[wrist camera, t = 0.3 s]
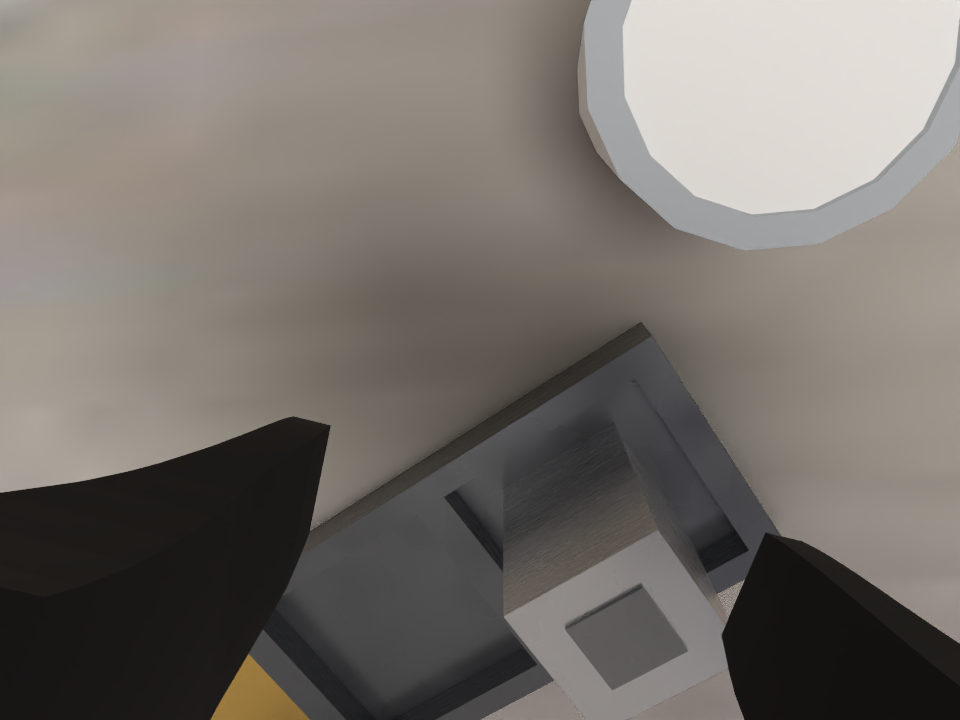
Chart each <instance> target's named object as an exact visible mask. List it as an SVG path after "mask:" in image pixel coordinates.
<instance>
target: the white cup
mask: <svg viewBox="0 0 960 720" xmlns="http://www.w3.org/2000/svg"><path fill="white" fill-rule="evenodd" d="M577 77H578V98H579V115H580V117H581V119H582V121H583V124H584V126H585V128H586V130H587V132H588V135H589V137H590V139H591V141H592V143H593V145H594V148H595V150H596V152H597V153H598V155H599V156H600V157H601V158H602V159H603V160H604V161H605V163H606V164H607V165H608V166H609V167H610V168H611V169H612V171H613V172H614V173H615V174H616V175H617V176H618V178H619V179H620V180H621V181H622V182H624V183H625V184H626V185H627V186H628V187H629V188H630V189H631V190H632V191H634V192H635V193H636V194H637V195H638V196H639V197H640V198H641V199H642V200H644V201H645V202H646V203H647V204H648V205H649V206H650V207H651V208H653V209H654V210H655V211H656V212H657V213H658V214H659V215H660V216H661V217H663V218H664V219H665V220H666V221H667V222H668V223H669V224H670V225H671V226H673V227H674V228H675V229H678V230H681V231H684V232H687V233H691V234H694V235H697V236H700V237H703V238H706V239H709V240H712V241H715V242H719V243H722V244H725V245H728V246H731V247H734V248H737V249H740V250H743V251H745V250H757V249H768V248H779V247H791V246H802V245H814V244H820V243H822V242H825V241H827V240H829V239H831V238H833V237H835V236H837V235H839V234H841V233H843V232H845V231H847V230H849V229H851V228H854V227H856V226H858V225H860V224H862V223H864V222H866V221H868V220H870V219H872V218H874V217H876V216H878V215H880V214H882V213H885V212H887V211H889V210H891V209H893V208H894V207H895V206H896V205H897V204H898V203H899V202H900V201H901V200H902V199H903V198H904V197H905V196H906V195H907V194H908V193H909V192H910V191H911V190H912V189H913V188H914V187H915V186H916V185H917V184H918V183H919V182H920V181H921V180H922V179H923V178H924V177H925V176H926V175H927V174H928V173H929V172H930V171H931V170H932V169H933V168H934V167H935V166H936V165H937V164H938V163H939V162H940V161H941V160H942V159H943V158H944V157H945V156H946V155H947V154H948V153H949V152H950V151H951V150H952V149H953V148H954V146H955V144H956V142H957V140H958V138H959V136H960V0H591V2H590V6H589V9H588V12H587V15H586V18H585V21H584V26H583V33H582V40H581V47H580V54H579V61H578V68H577Z"/></svg>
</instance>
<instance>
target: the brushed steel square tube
mask: <svg viewBox="0 0 960 720" xmlns="http://www.w3.org/2000/svg"><path fill="white" fill-rule="evenodd" d="M503 604H504V618H505V619H506V620H507V622H508V623H509V624H510V625H511V627H512V628H513V629H514V630H515V632H516V633H517V634H518V635H519V637H520V638H521V639H522V640H523V642H524V643H525V644H526V645H527V647H528V648H529V649H530V650H531V652H532V653H533V654H534V655H535V657H536V658H537V659H538V660H539V662H540V663H541V664H542V665H543V667H544V668H545V669H546V670H547V672H548V673H549V674H550V675H551V677H552V678H553V679H554V680H555V682H556V683H557V684H558V685H559V687H560V688H561V689H562V690H563V692H564V693H565V694H566V695H567V697H568V698H569V699H570V700H571V702H572V703H573V704H574V705H575V707H576V708H577V709H578V710H579V712H580V713H581V714H582V715H583V717H584V718H585V719H586V720H627V719H629V718H631V717H633V716H635V715H637V714H639V713H641V712H643V711H645V710H647V709H649V708H651V707H653V706H655V705H657V704H659V703H661V702H663V701H665V700H667V699H669V698H671V697H673V696H675V695H677V694H679V693H681V692H683V691H685V690H687V689H689V688H690V687H692V686H694V685H696V684H698V683H700V682H702V681H704V680H706V679H708V678H710V677H712V676H714V675H716V674H718V673H720V672H722V671H724V670H726V669H728V664H727V659H726V655H725V650H724V645H723V641H722V636H721V635H722V633H723V630H724V628H725V625H726V623H727V621H728V616H727V614H726V612H725V610H724V608H723V606H722V604H721V602H720V600H719V598H718V595H717V593H716V591H715V589H714V587H713V585H712V583H711V581H710V579H709V577H708V575H707V573H706V570H705V568H704V566H703V564H702V562H701V560H700V558H699V556H698V554H697V552H696V550H695V548H694V545H693V543H692V541H691V539H690V537H689V535H688V533H687V531H686V529H685V527H684V525H683V523H682V521H681V519H680V518H679V516H678V515H677V513H676V512H675V510H674V509H673V507H672V506H671V505H670V503H669V502H668V500H667V499H666V497H665V496H664V494H663V493H662V491H661V490H660V488H659V487H658V486H657V484H656V483H655V481H654V480H653V478H652V477H651V475H650V474H649V472H648V471H647V469H646V468H645V467H644V465H643V464H642V462H641V461H640V459H639V458H638V456H637V455H636V453H635V452H634V451H633V449H632V448H631V446H630V445H629V443H628V442H627V440H626V439H625V437H624V436H623V434H622V433H621V432H620V430H619V429H618V427H617V426H616V424H615V423H612V424H610V425H609V426H607V427H605V428H604V429H602V430H600V431H599V432H597V433H595V434H594V435H592V436H590V437H589V438H587V439H585V440H584V441H582V442H581V443H579V444H577V445H576V446H574V447H572V448H571V449H569V450H567V451H566V452H564V453H562V454H561V455H559V456H557V457H556V458H554V459H552V460H551V461H549V462H547V463H546V464H544V465H543V466H541V467H539V468H538V469H536V470H534V471H533V472H531V473H529V474H528V475H526V476H524V477H523V478H521V479H519V480H518V481H516V482H514V483H513V484H511V485H510V486H508V487H506V488H505V489H503Z"/></svg>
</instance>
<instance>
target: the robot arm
mask: <svg viewBox="0 0 960 720" xmlns="http://www.w3.org/2000/svg"><path fill="white" fill-rule="evenodd" d="M329 431H330V425H326V424H322V423H318V422H314V421H310V420H306V419H302V418H298V417H289V418H285V419H282V420H279V421H277V422H274V423H271V424H269V425H266V426H264V427H261V428H259V429H256V430H254V431H251V432H248V433H246V434H243V435H241V436H238V437H235V438H233V439H230V440H227V441H225V442H222V443H220V444H217V445H214V446H211V447H208V448H205V449H202V450H199V451H196V452H193V453H190V454H187V455H183V456H180V457H177V458H174V459H171V460H168V461H165V462H162V463H159V464H155V465H151V466H148V467H144V468H140V469H136V470H132V471H128V472H124V473H119V474H114V475H110V476H105V477H100V478H96V479H91V480H86V481H80V482H75V483H68V484H60V485H53V486H46V487H39V488H32V489H25V490H18V491H11V492H3V493H0V720H211V718H212V716H213V714H214V712H215V710H216V708H217V707H218V705H219V703H220V701H221V700H222V698H223V696H224V695H225V693H226V691H227V690H228V688H229V686H230V684H231V683H232V681H233V679H234V678H235V676H236V674H237V673H238V671H239V669H240V667H241V666H242V664H243V662H244V661H245V659H246V657H247V656H248V654H249V652H250V650H251V649H252V647H253V645H254V644H255V642H256V640H257V639H258V637H259V635H260V633H261V632H262V630H263V628H264V627H265V625H266V623H267V621H268V620H269V618H270V616H271V615H272V613H273V611H274V609H275V608H276V606H277V604H278V602H279V601H280V599H281V597H282V595H283V594H284V592H285V590H286V588H287V586H288V584H289V582H290V579H291V577H292V575H293V572H294V570H295V568H296V565H297V563H298V560H299V558H300V556H301V553H302V551H303V548H304V546H305V543H306V541H307V539H308V536H309V531H310V526H311V521H312V516H313V511H314V506H315V501H316V496H317V491H318V486H319V481H320V476H321V471H322V466H323V461H324V456H325V451H326V446H327V441H328V436H329ZM721 636H722V641H723V645H724V650H725V655H726V659H727V664H728V669H729V673H730V676H731V680H732V684H733V688H734V692H735V695H736V698H737V701H738V703H739V706H740V709H741V712H742V714H743V717H744V719H745V720H960V644H959V643H958V642H956V641H955V640H953V639H952V638H950V637H949V636H947V635H946V634H944V633H943V632H941V631H940V630H938V629H937V628H935V627H934V626H932V625H931V624H929V623H928V622H926V621H925V620H923V619H922V618H920V617H919V616H917V615H916V614H915V613H913V612H912V611H910V610H909V609H907V608H906V607H904V606H903V605H901V604H900V603H899V602H897V601H896V600H894V599H893V598H891V597H890V596H888V595H887V594H885V593H884V592H883V591H881V590H880V589H878V588H877V587H875V586H874V585H872V584H871V583H869V582H868V581H866V580H865V579H863V578H862V577H861V576H859V575H858V574H856V573H855V572H853V571H852V570H850V569H849V568H847V567H846V566H844V565H842V564H841V563H839V562H838V561H836V560H835V559H833V558H831V557H830V556H828V555H826V554H825V553H823V552H821V551H820V550H818V549H816V548H814V547H812V546H810V545H808V544H806V543H804V542H802V541H798V540H794V539H790V538H786V537H782V536H778V535H774V534H770V533H766V532H765V534H764V537H763V539H762V541H761V544H760V546H759V548H758V551H757V553H756V555H755V558H754V560H753V562H752V565H751V567H750V569H749V572H748V574H747V576H746V579H745V581H744V583H743V586H742V588H741V590H740V593H739V595H738V597H737V600H736V602H735V604H734V607H733V609H732V611H731V614H730V616H729V618H728V621H727V623H726V625H725V628H724V630H723V633H722V635H721Z"/></svg>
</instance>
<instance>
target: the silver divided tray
mask: <svg viewBox="0 0 960 720" xmlns="http://www.w3.org/2000/svg"><path fill="white" fill-rule="evenodd" d="M612 423H615V424H616V426H617V427H618V429H619V430H620V432H621V433H622V434H623V436H624V437H625V439H626V440H627V442H628V443H629V445H630V446H631V448H632V449H633V451H634V452H635V453H636V455H637V456H638V458H639V459H640V461H641V462H642V464H643V465H644V467H645V468H646V469H647V471H648V472H649V474H650V475H651V477H652V478H653V480H654V481H655V483H656V484H657V486H658V487H659V488H660V490H661V491H662V493H663V494H664V496H665V497H666V499H667V500H668V502H669V503H670V505H671V506H672V507H673V509H674V510H675V512H676V513H677V515H678V516H679V518H680V519H681V521H682V523H683V525H684V527H685V529H686V531H687V533H688V535H689V537H690V539H691V541H692V543H693V545H694V548H695V550H696V552H697V554H698V556H699V558H700V560H701V562H702V564H703V566H704V568H705V570H706V573H707V575H708V577H709V579H710V581H711V583H712V585H713V587H714V589H715V591H716V593H717V594H718V593H719V592H721V591H723V590H725V589H727V588H729V587H731V586H733V585H735V584H736V583H738V582H740V581H742V580H744V579H746V576H747V574H748V572H749V569H750V567H751V565H752V562H753V560H754V558H755V555H756V553H757V551H758V548H759V546H760V544H761V541H762V539H763V537H764V534H765V532H766V533H770V534H774V535H778V536H781V535H780V534H779V532H778V531H777V529H776V527H775V526H774V524H773V523H772V521H771V520H770V518H769V517H768V515H767V513H766V512H765V510H764V509H763V507H762V506H761V504H760V503H759V501H758V499H757V498H756V496H755V495H754V493H753V492H752V490H751V489H750V487H749V485H748V484H747V482H746V481H745V479H744V478H743V476H742V475H741V473H740V472H739V470H738V468H737V467H736V465H735V464H734V462H733V461H732V459H731V458H730V456H729V454H728V453H727V451H726V450H725V448H724V447H723V445H722V444H721V442H720V440H719V439H718V437H717V436H716V434H715V433H714V431H713V430H712V428H711V427H710V425H709V423H708V422H707V420H706V419H705V417H704V416H703V414H702V413H701V411H700V409H699V408H698V406H697V405H696V403H695V402H694V400H693V399H692V397H691V395H690V394H689V392H688V391H687V389H686V388H685V386H684V385H683V383H682V381H681V380H680V378H679V377H678V375H677V374H676V372H675V371H674V369H673V368H672V366H671V364H670V363H669V361H668V360H667V358H666V357H665V355H664V354H663V352H662V350H661V349H660V347H659V346H658V344H657V343H656V341H655V340H654V338H653V336H652V335H651V334H650V333H649V331H648V330H647V329H646V328H645V326H644V325H643V324H642V322H641V323H639V324H638V325H636V326H635V327H633V328H632V329H630V330H628V331H627V332H625V333H624V334H622V335H620V336H619V337H617V338H616V339H614V340H613V341H611V342H609V343H608V344H606V345H605V346H603V347H602V348H600V349H598V350H597V351H595V352H594V353H592V354H590V355H589V356H587V357H586V358H584V359H583V360H581V361H579V362H578V363H576V364H575V365H573V366H571V367H570V368H568V369H567V370H565V371H564V372H562V373H560V374H559V375H557V376H556V377H554V378H553V379H551V380H549V381H548V382H546V383H545V384H543V385H541V386H540V387H538V388H537V389H535V390H534V391H532V392H530V393H529V394H527V395H526V396H524V397H523V398H521V399H519V400H518V401H516V402H515V403H513V404H511V405H510V406H508V407H507V408H505V409H504V410H502V411H500V412H499V413H497V414H496V415H494V416H492V417H491V418H489V419H488V420H486V421H485V422H483V423H481V424H480V425H478V426H477V427H475V428H474V429H472V430H470V431H469V432H467V433H466V434H464V435H462V436H461V437H459V438H458V439H456V440H455V441H453V442H451V443H450V444H448V445H447V446H445V447H444V448H442V449H440V450H439V451H437V452H436V453H434V454H432V455H431V456H429V457H428V458H426V459H425V460H423V461H421V462H420V463H418V464H417V465H415V466H413V467H412V468H410V469H409V470H407V471H406V472H404V473H402V474H401V475H399V476H398V477H396V478H395V479H393V480H391V481H390V482H388V483H387V484H385V485H383V486H382V487H380V488H379V489H377V490H376V491H374V492H372V493H371V494H369V495H368V496H366V497H364V498H363V499H361V500H360V501H358V502H357V503H355V504H353V505H352V506H350V507H349V508H347V509H346V510H344V511H342V512H341V513H339V514H338V515H336V516H334V517H333V518H331V519H330V520H328V521H327V522H325V523H323V524H322V525H320V526H319V527H317V528H316V529H314V530H312V531H311V532H309V536H308V539H307V541H306V543H305V546H304V548H303V551H302V553H301V556H300V558H299V560H298V563H297V565H296V568H295V570H294V572H293V575H292V577H291V579H290V582H289V584H288V586H287V588H286V590H285V592H284V594H283V595H282V597H281V599H280V601H279V602H278V604H277V606H276V608H275V609H274V611H273V613H272V615H271V616H270V618H269V620H268V621H267V623H266V625H265V627H264V628H263V630H262V632H261V633H260V635H259V637H258V639H257V640H256V642H255V644H254V645H253V647H252V649H251V650H250V652H249V654H248V656H247V657H246V659H245V661H244V662H243V664H242V666H241V667H240V669H239V671H238V673H237V674H236V676H235V678H234V679H233V681H232V683H231V684H230V686H229V688H228V690H227V691H226V693H225V695H224V696H223V698H222V700H221V701H220V703H219V705H218V707H217V708H216V710H215V712H214V714H213V716H212V718H211V720H480V719H482V718H484V717H486V716H488V715H490V714H492V713H494V712H495V711H497V710H499V709H501V708H503V707H505V706H507V705H509V704H510V703H512V702H514V701H516V700H518V699H520V698H522V697H524V696H526V695H527V694H529V693H531V692H533V691H535V690H537V689H539V688H541V687H542V686H544V685H546V684H548V683H550V682H552V681H554V679H553V678H552V677H551V675H550V674H549V673H548V672H547V670H546V669H545V668H544V667H543V665H542V664H541V663H540V662H539V660H538V659H537V658H536V657H535V655H534V654H533V653H532V652H531V650H530V649H529V648H528V647H527V645H526V644H525V643H524V642H523V640H522V639H521V638H520V637H519V635H518V634H517V633H516V632H515V630H514V629H513V628H512V627H511V625H510V624H509V623H508V622H507V620H506V619H505V618H504V604H503V489H505V488H506V487H508V486H510V485H511V484H513V483H514V482H516V481H518V480H519V479H521V478H523V477H524V476H526V475H528V474H529V473H531V472H533V471H534V470H536V469H538V468H539V467H541V466H543V465H544V464H546V463H547V462H549V461H551V460H552V459H554V458H556V457H557V456H559V455H561V454H562V453H564V452H566V451H567V450H569V449H571V448H572V447H574V446H576V445H577V444H579V443H581V442H582V441H584V440H585V439H587V438H589V437H590V436H592V435H594V434H595V433H597V432H599V431H600V430H602V429H604V428H605V427H607V426H609V425H610V424H612Z"/></svg>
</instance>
